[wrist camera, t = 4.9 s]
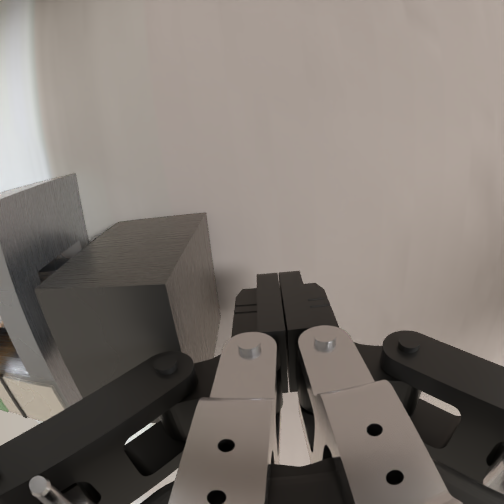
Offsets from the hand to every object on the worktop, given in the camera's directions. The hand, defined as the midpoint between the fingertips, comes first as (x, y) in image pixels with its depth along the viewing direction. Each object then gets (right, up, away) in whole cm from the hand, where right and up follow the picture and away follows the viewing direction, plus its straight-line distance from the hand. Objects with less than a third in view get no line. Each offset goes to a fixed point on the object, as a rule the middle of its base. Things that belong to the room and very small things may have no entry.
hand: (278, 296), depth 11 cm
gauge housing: (-13, 0, +3) cm, 14 cm away
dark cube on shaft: (-8, 0, +3) cm, 9 cm away
